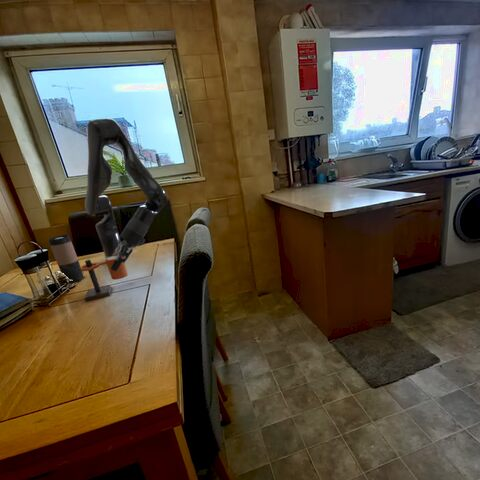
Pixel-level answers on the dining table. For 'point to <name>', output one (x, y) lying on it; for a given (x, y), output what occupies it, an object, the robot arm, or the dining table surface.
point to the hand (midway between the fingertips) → (111, 267)
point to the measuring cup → (109, 261)
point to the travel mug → (66, 257)
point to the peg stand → (96, 286)
